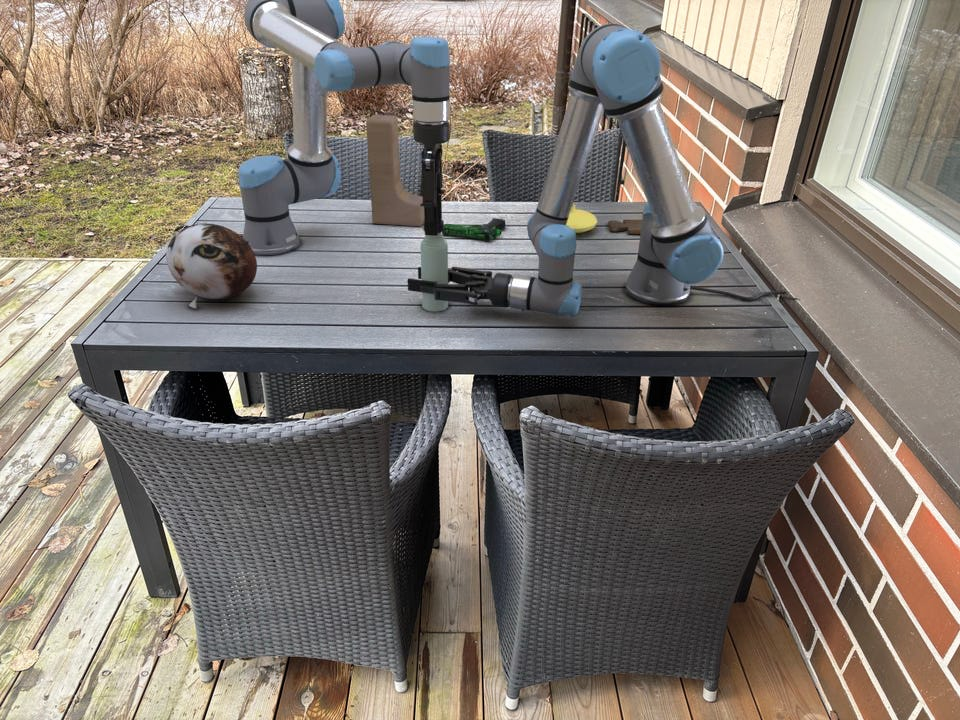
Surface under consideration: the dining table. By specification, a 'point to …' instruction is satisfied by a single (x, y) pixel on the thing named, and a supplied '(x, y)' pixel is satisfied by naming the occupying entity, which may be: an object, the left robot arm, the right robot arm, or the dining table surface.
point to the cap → (440, 225)
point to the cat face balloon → (211, 261)
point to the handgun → (477, 230)
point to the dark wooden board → (626, 226)
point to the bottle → (434, 268)
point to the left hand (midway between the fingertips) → (433, 228)
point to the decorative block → (389, 176)
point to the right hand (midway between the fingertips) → (413, 278)
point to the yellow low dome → (581, 220)
